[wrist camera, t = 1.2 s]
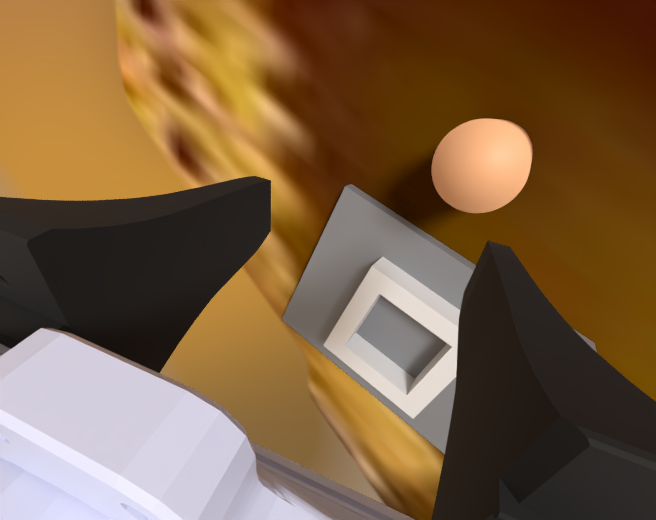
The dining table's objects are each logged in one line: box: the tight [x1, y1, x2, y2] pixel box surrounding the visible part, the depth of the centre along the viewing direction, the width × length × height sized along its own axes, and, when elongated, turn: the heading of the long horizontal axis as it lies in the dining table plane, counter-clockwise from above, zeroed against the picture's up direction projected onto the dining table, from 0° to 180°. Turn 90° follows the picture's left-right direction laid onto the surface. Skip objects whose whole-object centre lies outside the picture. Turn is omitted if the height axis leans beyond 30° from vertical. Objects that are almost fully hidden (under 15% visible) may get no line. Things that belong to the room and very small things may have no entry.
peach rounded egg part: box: [432, 119, 533, 213], centre depth 18 cm, size 4×4×6 cm
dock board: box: [282, 184, 597, 454], centre depth 25 cm, size 18×14×3 cm
